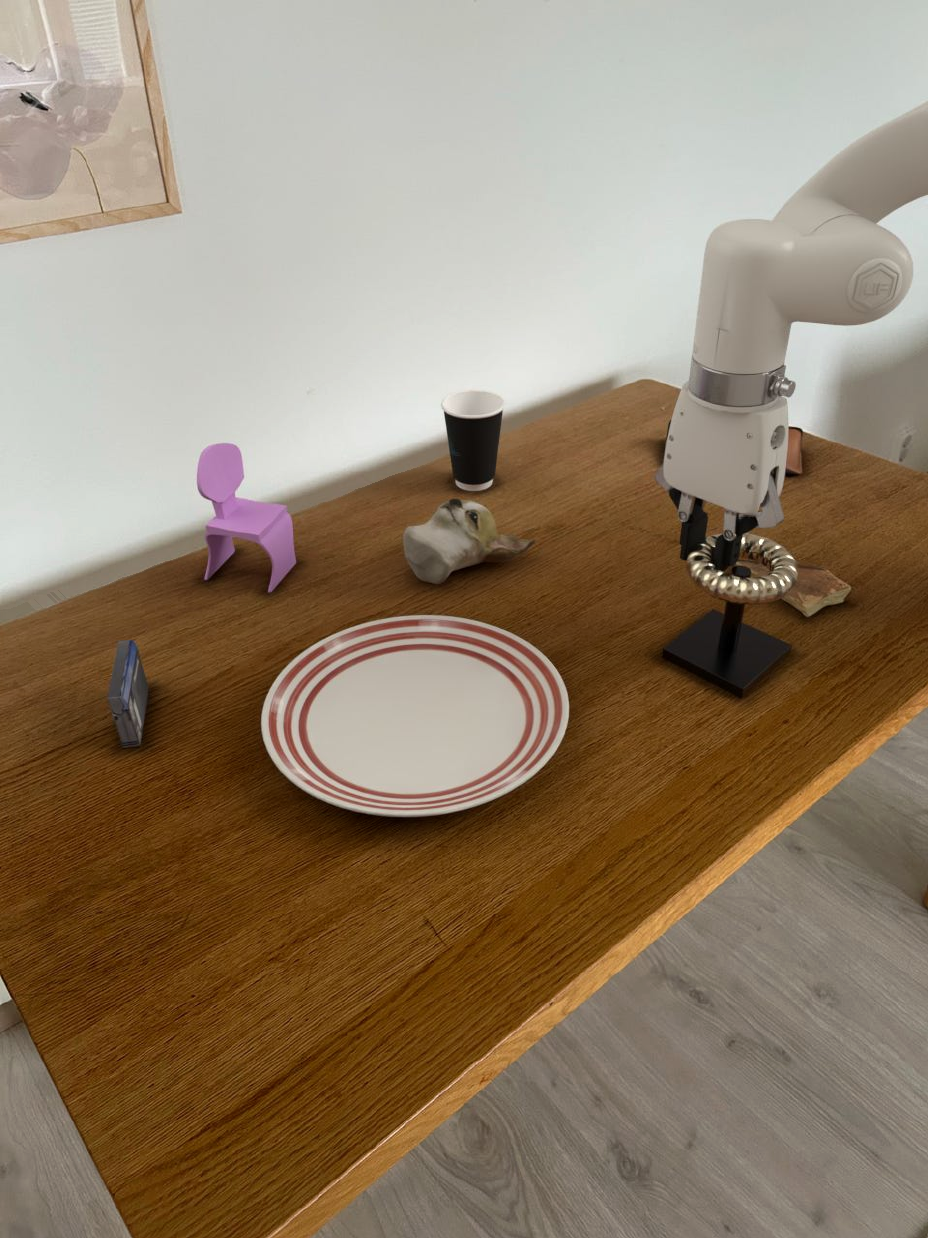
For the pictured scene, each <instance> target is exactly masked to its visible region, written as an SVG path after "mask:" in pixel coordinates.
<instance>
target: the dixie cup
mask: <svg viewBox="0 0 928 1238" xmlns="http://www.w3.org/2000/svg"><path fill="white" fill-rule="evenodd" d="M506 404H507V403H506V400H505V399H504V397H502V395H500V394H498V393H496V392H493V391H489V390H484V389H464V390H458V391H455V392H452V393H449V394H448V395H446V396H445V397H443V398H442V400H441V402H440V407H441V409H442V411H443V415H444V421H445V422H444V423H445V431H446V436H447V437H446V438H447V444H448V451H449V457H450V463H451V471H452V476H453V478H454V480H455V485H456V487H458V488H459V489H461V490H463V491H469V492H478V491H483V490H487V489H489V488H490V487H491V486H492V485H493V482H494V481H493V480H494V478H495V476H496V470H497V463H498V460H497V459H498V453H499V445H500V436H501V429H502V422H503V421H502V420H503V413H504V409H505V408H506Z"/></svg>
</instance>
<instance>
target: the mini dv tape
mask: <svg viewBox="0 0 928 1238" xmlns="http://www.w3.org/2000/svg"><path fill="white" fill-rule="evenodd" d="M147 680H148V679H147V677H146V673H145V669H144V666H143V663H142V660H141V656H140V652H139V649H138V645H137V643H136V642H135V641H134V640H133V639H127V640H118V641H117V646H116V651H115V656H114V662H113V666H112V672H111V678H110V683H109V688H108V693H107V703H108V705H109V708H110V711H111V715H112V718H113V722H114V724H115V727H116V732H117V734H118V738H119V741H120V744H121V746H122V749H127V748H135V747H141V745H142V744H141V743H142V737H143V732H144V731H143V730H144V724H145V717H146V711H147V704H148V697H149V689H150V688H149V683H148V681H147Z"/></svg>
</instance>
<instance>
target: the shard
mask: <svg viewBox="0 0 928 1238" xmlns="http://www.w3.org/2000/svg"><path fill="white" fill-rule="evenodd" d="M737 565H742V566H746V567H748V568H750V569H751V578H758V577H762V576H766V575H768V574H769V573H770V571H769V569H768V568H767V567H765V566H764V565H762V564H760V563H759V562H756V561H753V560H749V559H738V561H737V562H736V564H735V566H737ZM851 590H852V586H851V585H849V584H848V583H847V582H844V581H843V580H841V579H839V578H838V577H837V576H836V575H834V574H833V573H832V572H830V570H829V568H825V567H821V566H820V567H819V566H814V565H813V566H812V565H801V564H798V578H797V583H796V585H795V587H794V588H793V589H792V590H791V591H789V592H788V593H787V594H786V595H785V596H784V597H783V598H781V599H780V600H782V601H784V602H786V603H788V604H790V605H791V606H792V607H794V608H795V609H796V610H798V611H799V612H801V613H802V615H803V616H804V617H806V618H809V617H811V616H813V615H814V614H816V613H817V612H819V611H820V610H821V609H823V608H825V607H826V606H833V605H837V604H842V603H844V602H845V598H847V595H848V594H849V593H850V592H851Z"/></svg>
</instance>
